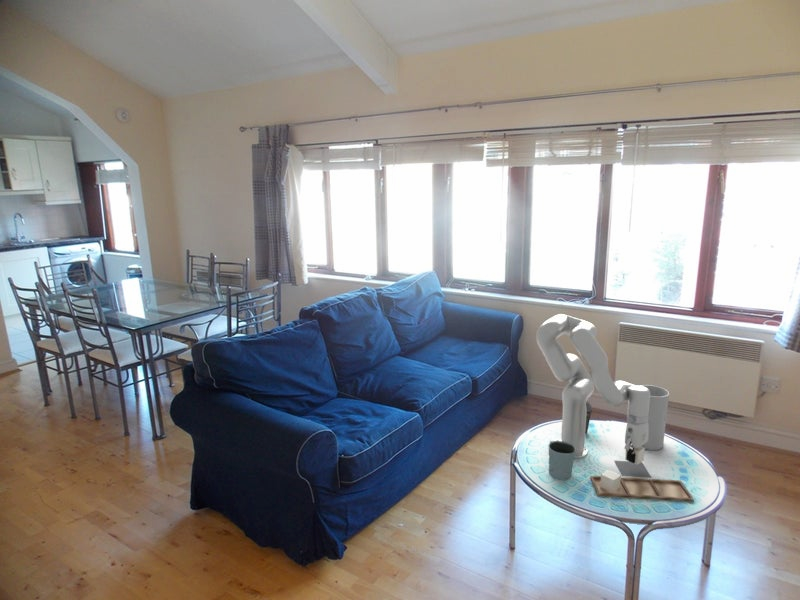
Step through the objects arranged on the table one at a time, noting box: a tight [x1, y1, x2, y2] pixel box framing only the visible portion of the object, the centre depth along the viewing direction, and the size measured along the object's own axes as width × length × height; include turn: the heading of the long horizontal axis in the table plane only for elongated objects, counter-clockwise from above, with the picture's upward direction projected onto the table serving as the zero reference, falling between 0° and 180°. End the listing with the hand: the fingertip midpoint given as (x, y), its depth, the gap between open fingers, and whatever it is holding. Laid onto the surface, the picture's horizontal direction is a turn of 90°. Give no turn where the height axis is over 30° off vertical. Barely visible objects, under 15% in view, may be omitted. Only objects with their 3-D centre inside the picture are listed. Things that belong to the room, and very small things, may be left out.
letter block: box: [624, 444, 646, 465], centre depth 199 cm, size 5×5×6 cm
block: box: [600, 469, 622, 493], centre depth 188 cm, size 5×5×6 cm
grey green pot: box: [548, 440, 576, 481], centre depth 197 cm, size 10×10×12 cm
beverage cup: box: [585, 401, 593, 435], centre depth 229 cm, size 7×7×20 cm
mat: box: [613, 460, 653, 479], centre depth 201 cm, size 11×11×1 cm
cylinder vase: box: [640, 384, 670, 451], centre depth 217 cm, size 12×12×25 cm
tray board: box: [589, 475, 695, 503], centre depth 187 cm, size 33×12×1 cm, turn 82°
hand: (634, 458), depth 199 cm, fingers closed on letter block, 5 cm apart
